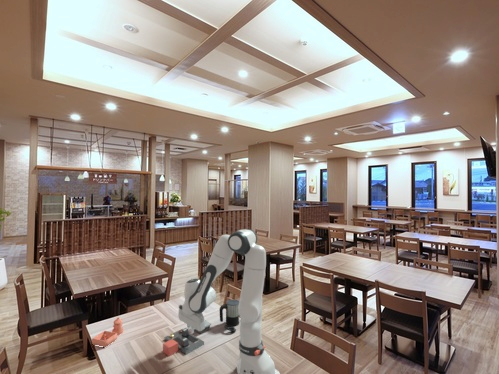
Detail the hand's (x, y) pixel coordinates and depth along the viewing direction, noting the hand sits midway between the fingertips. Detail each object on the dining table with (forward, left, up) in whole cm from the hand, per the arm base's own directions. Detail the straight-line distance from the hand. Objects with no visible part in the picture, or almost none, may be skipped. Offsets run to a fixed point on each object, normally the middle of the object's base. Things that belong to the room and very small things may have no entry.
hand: (190, 332), depth 145 cm
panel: (+11, -3, -11) cm, 16 cm away
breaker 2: (+6, 0, -9) cm, 11 cm away
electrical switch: (+10, -19, -11) cm, 24 cm away
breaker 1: (+15, -7, -9) cm, 19 cm away
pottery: (+48, +24, -11) cm, 55 cm away
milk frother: (+2, -35, -11) cm, 37 cm away
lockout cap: (+9, +7, -11) cm, 16 cm away
